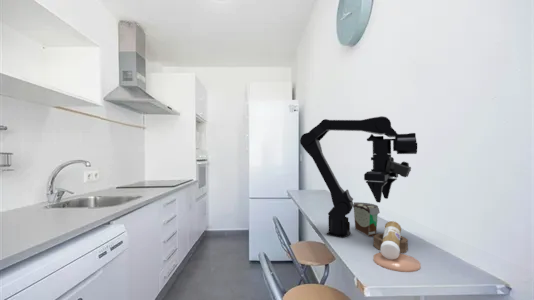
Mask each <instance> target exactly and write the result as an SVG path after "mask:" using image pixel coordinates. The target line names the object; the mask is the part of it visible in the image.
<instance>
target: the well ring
mask: <svg viewBox="0 0 534 300" xmlns="http://www.w3.org/2000/svg"><path fill="white" fill-rule="evenodd" d="M383 235H384V232H383V233H381V232H379V233H376V235H374V236H372V237H373V247H374V248H376V249H377V250H378V251H380V252H381V250H380V249H381V244H382V242H383ZM399 248H400V254H406V253H407V251H408V249H409V239H408V238H406V237H404V236H403V235H401V236H400V244H399Z"/></svg>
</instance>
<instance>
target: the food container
mask: <svg viewBox="0 0 534 300" xmlns="http://www.w3.org/2000/svg"><path fill="white" fill-rule="evenodd" d="M352 209H353V212H354V213H353V217H354V228H355V230H356V231H357V232H360V233H361V234H363V235H365V236H367V237H368V238H370V237H373V236H374V235H376V234H377V227H378V226H377V225H378V224H377V223H378V214H380V208H379V206H378V205H377V204H374V203H370V202H369V203H368V202H353V207H352Z"/></svg>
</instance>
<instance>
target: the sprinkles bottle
mask: <svg viewBox="0 0 534 300" xmlns="http://www.w3.org/2000/svg"><path fill="white" fill-rule="evenodd" d="M401 231H402V227H401V225H400V224H399V223H398V222H396V221H394V220H392V221H387V222H386V223H385V224H384V230H383V233H384V235H383V242H382V244H381V249H380V250H381V251H380V250H379V251H380V252H381V253H382V255H383V256H384V257H385V258H387V259H391V260H393V259H396V258H398V257H399V254H401V253H400V248H399V244H400V236H402V235H401Z"/></svg>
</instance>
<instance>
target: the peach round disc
mask: <svg viewBox="0 0 534 300" xmlns="http://www.w3.org/2000/svg"><path fill="white" fill-rule="evenodd" d="M373 262H374V263H375V264H376V265H377V266H379V267H381V268H384V269H387V270H390V271H393V272H400V273H413V272H418V271H420V269H421V262H420V261H419V260H418V259H417V258H415V257H412V256H410V255H407V254H406V253H400V254H399V257H398V258H396V259H393V260H391V259H387V258H385V257H384V256H383V255H382V253H381V251H380V252H376V253H375V254H374V255H373Z"/></svg>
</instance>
